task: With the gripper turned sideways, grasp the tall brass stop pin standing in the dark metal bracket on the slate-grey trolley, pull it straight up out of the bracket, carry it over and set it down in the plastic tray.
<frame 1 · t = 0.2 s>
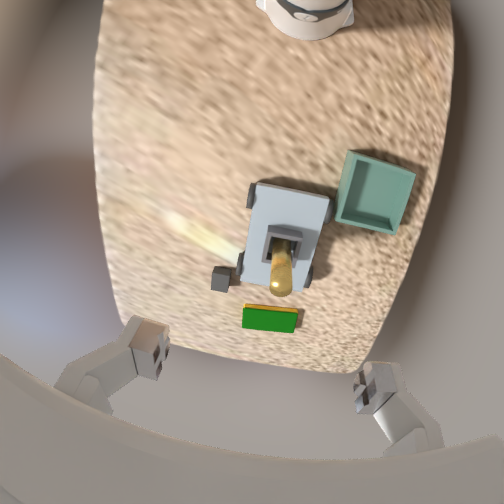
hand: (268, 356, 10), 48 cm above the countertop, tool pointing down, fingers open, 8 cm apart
wheel chock: (222, 275, 68), on the countertop
trolley: (281, 233, 60), on the countertop
dish sponge: (269, 314, 73), on the countertop
stop pin: (281, 243, 57), point 4 cm above the countertop, touching trolley
tray: (369, 189, 53), on the countertop
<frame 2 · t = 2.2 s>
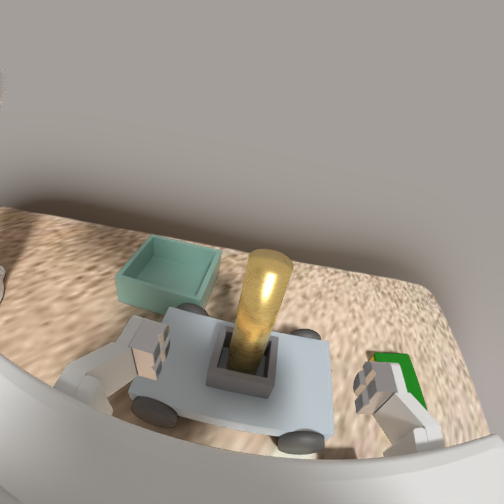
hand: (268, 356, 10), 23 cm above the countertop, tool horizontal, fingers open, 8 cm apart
trolley: (235, 387, 32), on the countertop
dish sponge: (394, 396, 34), on the countertop
stop pin: (241, 368, 30), point 5 cm above the countertop, touching trolley
tray: (171, 286, 46), on the countertop
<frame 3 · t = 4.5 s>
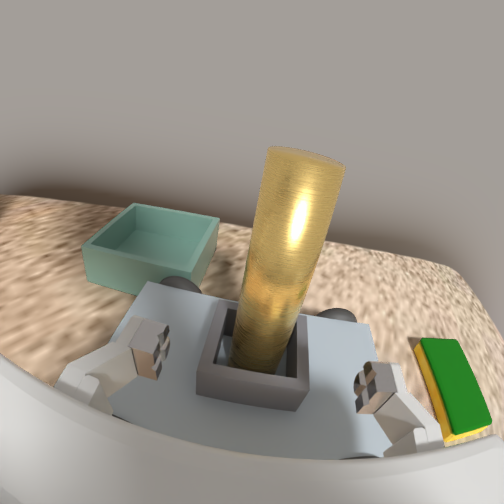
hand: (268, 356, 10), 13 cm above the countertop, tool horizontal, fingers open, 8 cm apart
trolley: (243, 395, 22), on the countertop
dish sponge: (446, 392, 24), on the countertop
stop pin: (251, 366, 20), point 5 cm above the countertop, touching trolley
tray: (155, 263, 36), on the countertop
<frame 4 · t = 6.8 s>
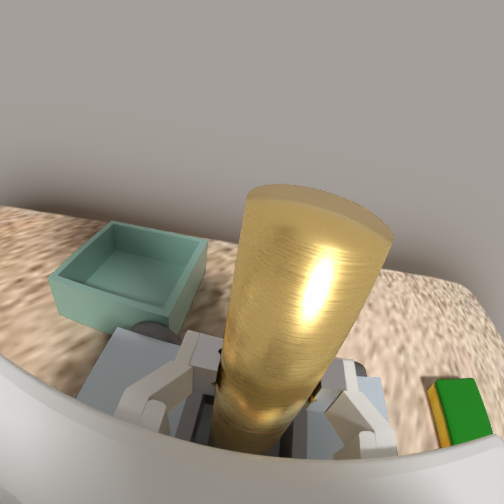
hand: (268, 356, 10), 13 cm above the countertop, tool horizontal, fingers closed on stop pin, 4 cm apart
trolley: (230, 461, 16), on the countertop
dish sponge: (457, 438, 18), on the countertop
stop pin: (237, 444, 14), point 5 cm above the countertop, touching gripper, trolley
tray: (135, 293, 30), on the countertop
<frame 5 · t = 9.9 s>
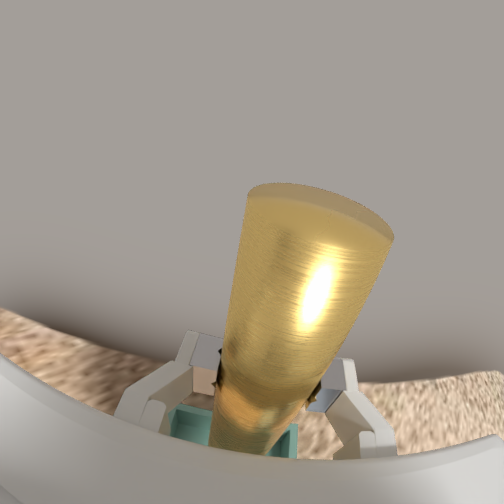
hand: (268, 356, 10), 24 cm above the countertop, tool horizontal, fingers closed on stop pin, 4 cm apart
stop pin: (237, 444, 14), point 15 cm above the countertop, touching gripper
tray: (220, 481, 22), on the countertop
when the fingers open (11 cm above the countertop, at t = 13.1 s): stop pin drops 2 cm, resting on tray.
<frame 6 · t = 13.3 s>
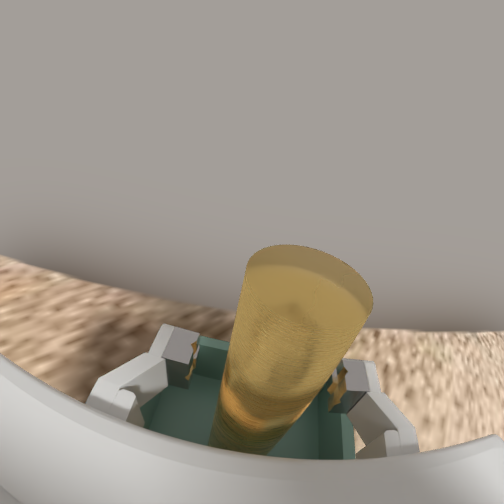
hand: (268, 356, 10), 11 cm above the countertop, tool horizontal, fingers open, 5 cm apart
stop pin: (233, 452, 15), point 1 cm above the countertop, touching tray
tray: (232, 456, 16), on the countertop
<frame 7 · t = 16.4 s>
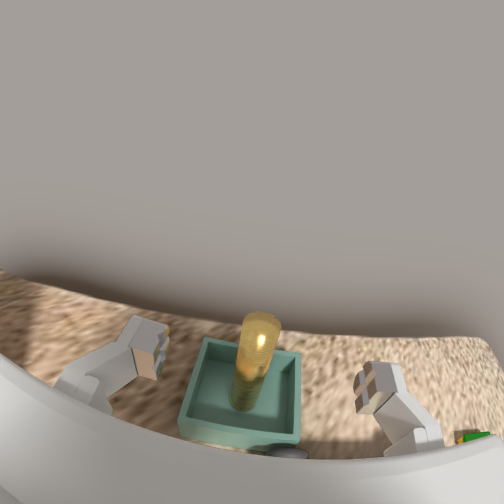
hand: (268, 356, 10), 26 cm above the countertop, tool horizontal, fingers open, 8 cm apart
stop pin: (242, 400, 33), point 1 cm above the countertop, touching tray
tray: (241, 404, 34), on the countertop
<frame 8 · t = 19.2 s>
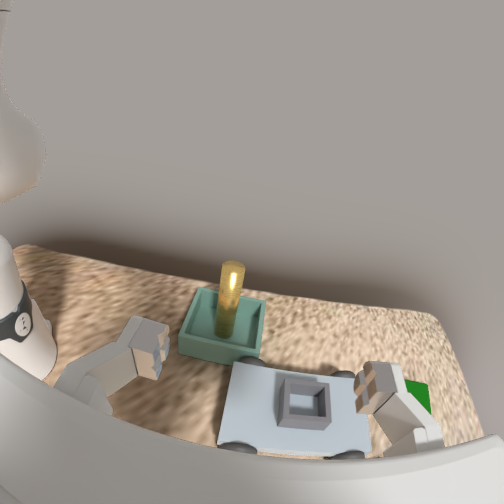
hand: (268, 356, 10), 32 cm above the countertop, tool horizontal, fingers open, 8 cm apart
trolley: (292, 421, 38), on the countertop
dish sponge: (410, 415, 40), on the countertop
stop pin: (223, 331, 51), point 1 cm above the countertop, touching tray
tray: (223, 335, 52), on the countertop
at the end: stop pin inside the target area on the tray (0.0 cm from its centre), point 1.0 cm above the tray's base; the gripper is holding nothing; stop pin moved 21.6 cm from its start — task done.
